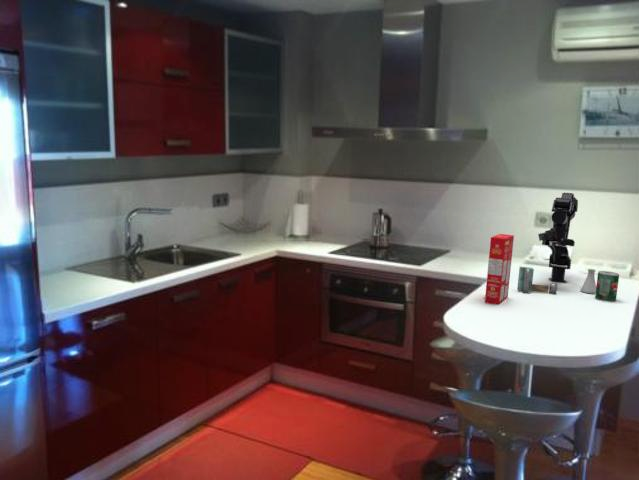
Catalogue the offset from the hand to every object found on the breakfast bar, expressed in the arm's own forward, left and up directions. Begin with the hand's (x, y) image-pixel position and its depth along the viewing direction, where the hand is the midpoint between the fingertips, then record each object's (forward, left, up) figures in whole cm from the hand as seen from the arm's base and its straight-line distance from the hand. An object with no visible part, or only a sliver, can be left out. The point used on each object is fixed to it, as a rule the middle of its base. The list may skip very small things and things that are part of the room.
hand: (555, 262), depth 259 cm
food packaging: (+33, -28, -12) cm, 45 cm away
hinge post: (+12, -3, -11) cm, 17 cm away
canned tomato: (+15, +17, -12) cm, 26 cm away
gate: (+12, -11, -11) cm, 20 cm away
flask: (+3, +14, -12) cm, 19 cm away
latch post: (+15, -14, -11) cm, 24 cm away
